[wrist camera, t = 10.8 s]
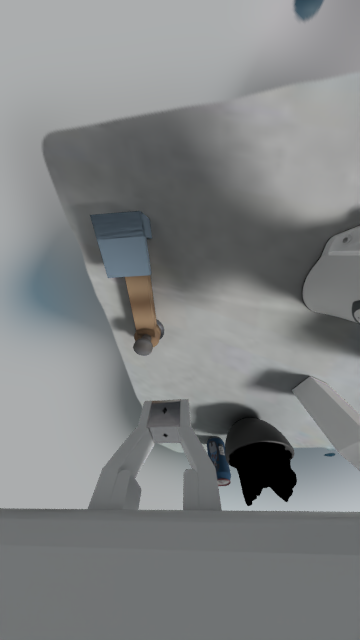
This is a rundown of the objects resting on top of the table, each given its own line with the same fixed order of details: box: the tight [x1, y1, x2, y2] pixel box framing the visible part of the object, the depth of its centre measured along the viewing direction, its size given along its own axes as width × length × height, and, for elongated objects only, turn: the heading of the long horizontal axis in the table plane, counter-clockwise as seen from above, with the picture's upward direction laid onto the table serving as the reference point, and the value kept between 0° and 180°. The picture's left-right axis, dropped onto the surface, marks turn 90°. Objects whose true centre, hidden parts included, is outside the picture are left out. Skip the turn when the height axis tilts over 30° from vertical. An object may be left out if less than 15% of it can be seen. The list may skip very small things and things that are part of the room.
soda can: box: [207, 437, 231, 486], centre depth 54 cm, size 7×7×12 cm
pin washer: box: [135, 320, 164, 340], centre depth 35 cm, size 7×7×1 cm
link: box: [125, 275, 161, 356], centre depth 29 cm, size 21×6×7 cm, turn 3°
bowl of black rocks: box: [225, 418, 297, 506], centre depth 44 cm, size 20×20×19 cm
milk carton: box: [292, 376, 360, 471], centre depth 35 cm, size 7×7×19 cm
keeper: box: [90, 211, 152, 278], centre depth 24 cm, size 8×7×6 cm
